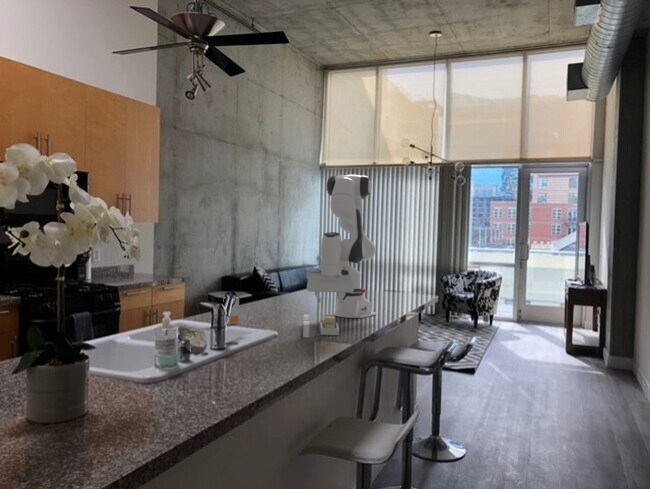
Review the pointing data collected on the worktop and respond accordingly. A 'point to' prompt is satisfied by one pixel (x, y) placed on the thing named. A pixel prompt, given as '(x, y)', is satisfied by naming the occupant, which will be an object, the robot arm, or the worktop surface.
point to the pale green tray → (329, 329)
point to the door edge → (306, 326)
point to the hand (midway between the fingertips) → (329, 302)
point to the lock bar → (329, 321)
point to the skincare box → (234, 313)
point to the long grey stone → (193, 338)
